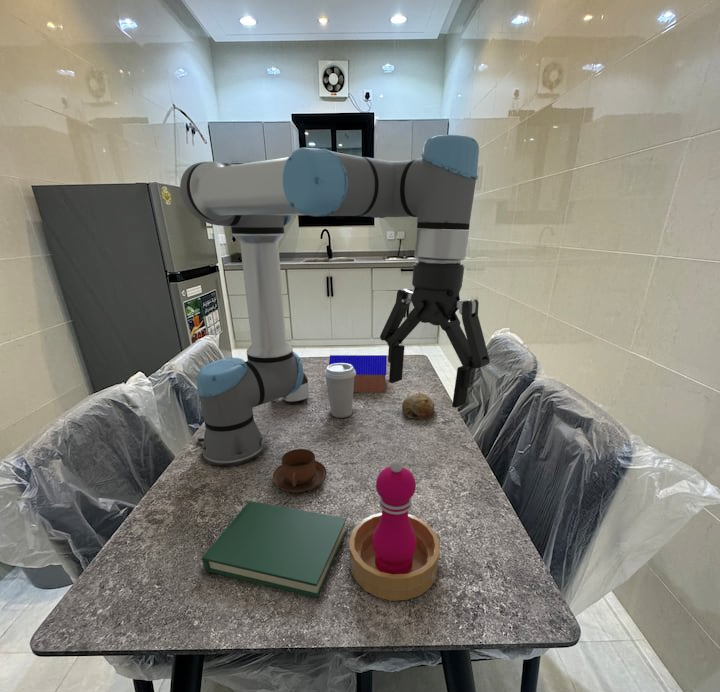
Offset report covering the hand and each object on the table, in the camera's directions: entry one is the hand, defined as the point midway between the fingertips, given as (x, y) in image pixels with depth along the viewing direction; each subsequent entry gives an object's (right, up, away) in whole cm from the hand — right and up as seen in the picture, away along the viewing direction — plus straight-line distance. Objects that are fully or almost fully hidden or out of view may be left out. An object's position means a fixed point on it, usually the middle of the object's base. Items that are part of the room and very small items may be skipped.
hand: (424, 392), depth 66 cm
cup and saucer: (-25, -20, +21) cm, 38 cm away
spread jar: (-35, -2, +63) cm, 72 cm away
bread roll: (+7, -5, +53) cm, 54 cm away
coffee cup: (-17, -5, +53) cm, 56 cm away
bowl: (-5, -29, -1) cm, 30 cm away
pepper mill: (-5, -29, -1) cm, 29 cm away
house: (-12, +4, +74) cm, 75 cm away
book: (-25, -28, +2) cm, 38 cm away
